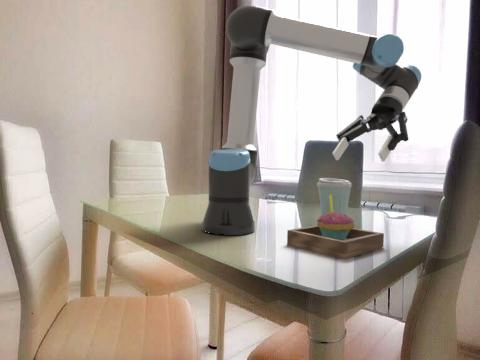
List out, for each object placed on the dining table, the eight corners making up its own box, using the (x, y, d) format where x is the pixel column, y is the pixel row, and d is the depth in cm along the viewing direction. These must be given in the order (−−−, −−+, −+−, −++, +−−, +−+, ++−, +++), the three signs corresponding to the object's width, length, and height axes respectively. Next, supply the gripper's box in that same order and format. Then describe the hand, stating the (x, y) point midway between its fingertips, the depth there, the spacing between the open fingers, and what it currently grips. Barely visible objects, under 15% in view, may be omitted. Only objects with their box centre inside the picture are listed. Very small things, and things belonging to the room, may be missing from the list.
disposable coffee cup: (356, 226, 113) (358, 178, 112) (339, 230, 105) (340, 179, 105) (327, 221, 120) (328, 177, 120) (309, 225, 113) (310, 178, 112)
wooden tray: (287, 244, 86) (287, 230, 86) (327, 236, 96) (327, 223, 96) (343, 259, 74) (344, 242, 74) (383, 248, 84) (383, 233, 84)
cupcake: (309, 240, 86) (310, 191, 86) (332, 236, 91) (334, 190, 90) (337, 248, 79) (339, 194, 78) (361, 243, 84) (362, 193, 83)
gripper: (439, 112, 94) (408, 169, 85) (356, 119, 113) (324, 165, 104) (431, 89, 90) (399, 145, 81) (347, 100, 109) (313, 146, 101)
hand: (356, 157), depth 93 cm, fingers open, 13 cm apart
